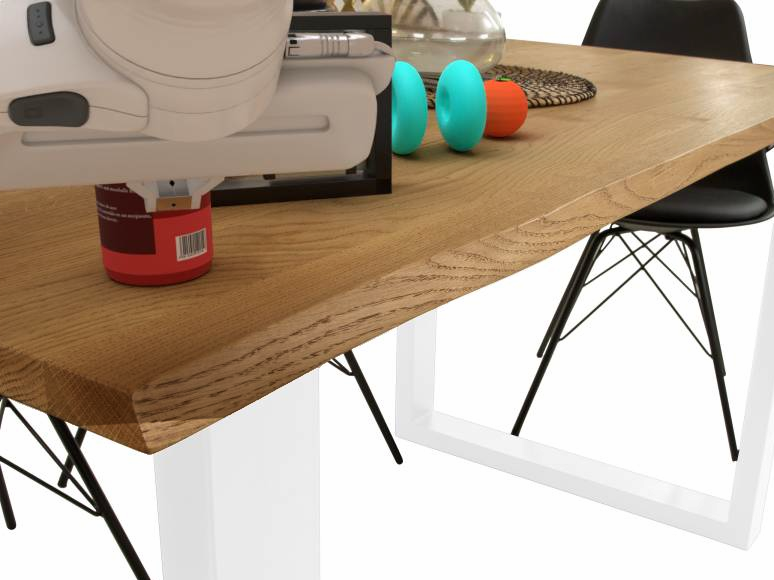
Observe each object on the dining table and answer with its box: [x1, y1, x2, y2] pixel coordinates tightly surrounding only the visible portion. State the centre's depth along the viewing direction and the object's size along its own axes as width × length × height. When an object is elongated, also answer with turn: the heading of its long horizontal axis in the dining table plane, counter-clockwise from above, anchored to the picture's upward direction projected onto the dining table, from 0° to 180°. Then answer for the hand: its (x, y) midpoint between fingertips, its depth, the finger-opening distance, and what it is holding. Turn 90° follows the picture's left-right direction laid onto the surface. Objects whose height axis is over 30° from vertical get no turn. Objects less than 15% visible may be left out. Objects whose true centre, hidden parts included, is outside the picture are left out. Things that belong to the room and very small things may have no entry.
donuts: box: [392, 59, 487, 156], centre depth 111 cm, size 10×10×10 cm
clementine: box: [483, 76, 529, 138], centre depth 121 cm, size 8×7×7 cm
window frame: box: [210, 10, 393, 208], centre depth 90 cm, size 22×4×16 cm, turn 112°
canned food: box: [94, 183, 215, 287], centre depth 70 cm, size 8×8×11 cm
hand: (170, 199), depth 57 cm, fingers closed
